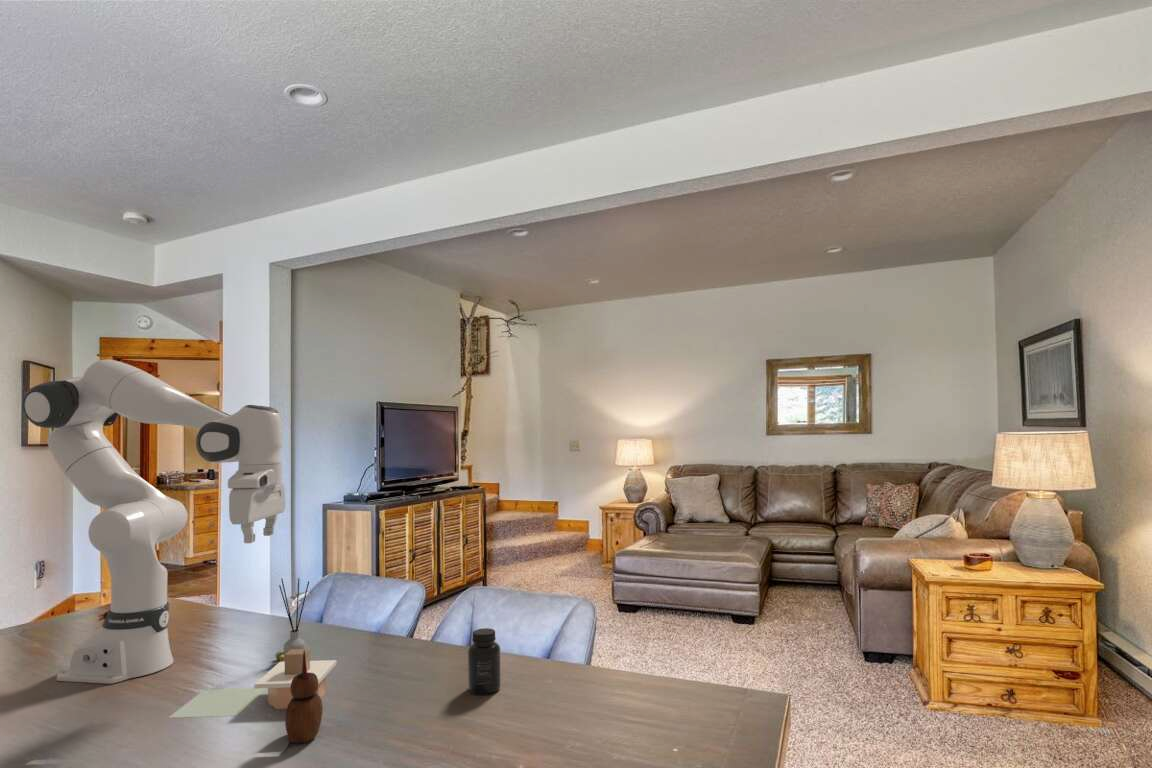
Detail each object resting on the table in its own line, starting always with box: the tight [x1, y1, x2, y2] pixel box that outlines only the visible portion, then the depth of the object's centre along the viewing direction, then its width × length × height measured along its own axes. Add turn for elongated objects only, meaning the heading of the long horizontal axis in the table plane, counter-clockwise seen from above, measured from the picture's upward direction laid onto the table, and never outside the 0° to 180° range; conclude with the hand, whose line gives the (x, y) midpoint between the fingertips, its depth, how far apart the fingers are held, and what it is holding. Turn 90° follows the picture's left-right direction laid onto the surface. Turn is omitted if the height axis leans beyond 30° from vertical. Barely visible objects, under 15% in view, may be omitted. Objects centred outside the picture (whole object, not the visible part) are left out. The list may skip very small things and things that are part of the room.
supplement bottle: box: [467, 628, 502, 696], centre depth 137 cm, size 7×7×12 cm
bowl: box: [267, 675, 327, 710], centre depth 132 cm, size 10×10×5 cm
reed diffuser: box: [275, 578, 310, 662], centre depth 153 cm, size 10×7×20 cm
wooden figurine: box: [284, 650, 324, 744], centre depth 117 cm, size 7×6×15 cm
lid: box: [253, 648, 338, 689], centre depth 133 cm, size 12×12×5 cm
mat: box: [168, 687, 267, 719], centre depth 131 cm, size 13×13×1 cm
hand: (259, 539), depth 144 cm, fingers open, 8 cm apart
